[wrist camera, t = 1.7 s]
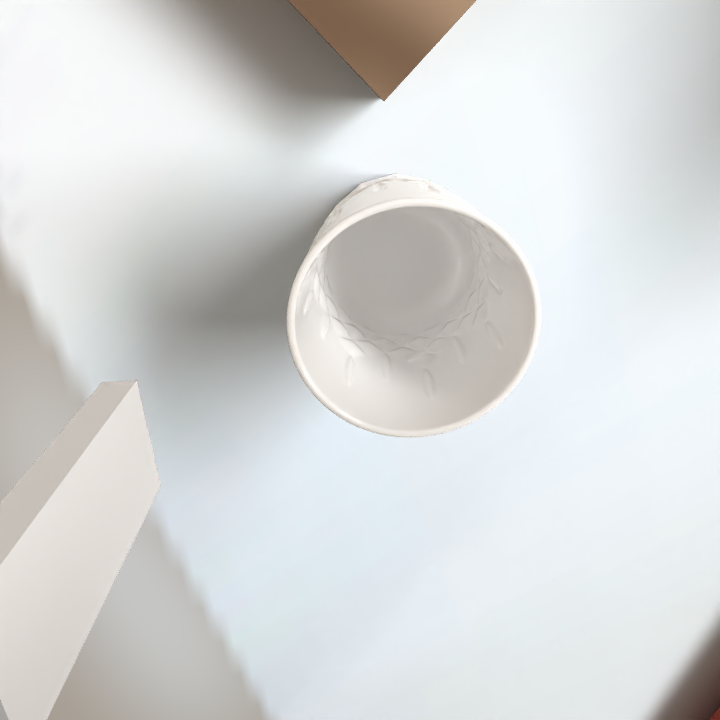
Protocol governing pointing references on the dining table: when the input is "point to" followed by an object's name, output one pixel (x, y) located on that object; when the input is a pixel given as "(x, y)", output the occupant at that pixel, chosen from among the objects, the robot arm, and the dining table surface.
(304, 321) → the white cup
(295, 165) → the dining table surface
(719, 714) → the plant saucer
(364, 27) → the walnut base
